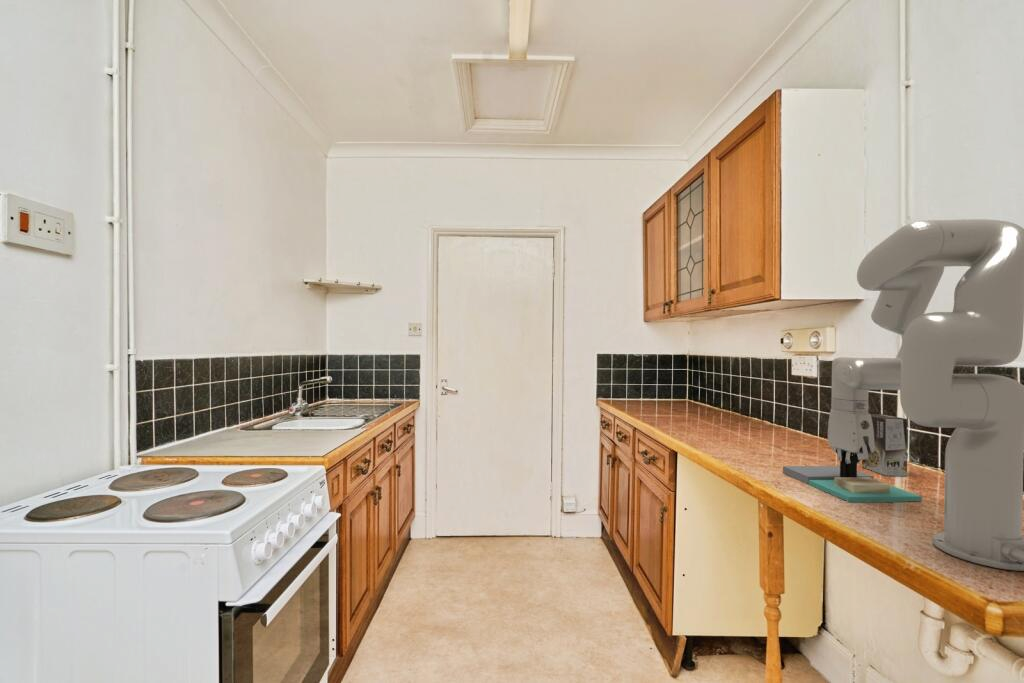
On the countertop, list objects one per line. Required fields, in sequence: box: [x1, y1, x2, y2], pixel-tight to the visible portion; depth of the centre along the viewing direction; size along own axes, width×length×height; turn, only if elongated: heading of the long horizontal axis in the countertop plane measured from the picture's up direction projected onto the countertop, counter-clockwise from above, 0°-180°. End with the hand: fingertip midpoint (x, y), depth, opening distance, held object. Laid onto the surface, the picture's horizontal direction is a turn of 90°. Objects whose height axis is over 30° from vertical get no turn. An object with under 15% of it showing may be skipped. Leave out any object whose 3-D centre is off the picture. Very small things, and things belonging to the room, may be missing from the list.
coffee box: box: [861, 413, 909, 477], centre depth 131 cm, size 9×6×16 cm
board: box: [782, 465, 874, 485], centre depth 124 cm, size 10×18×2 cm, turn 93°
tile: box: [834, 477, 891, 493], centre depth 111 cm, size 6×9×2 cm, turn 92°
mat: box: [808, 480, 923, 503], centre depth 112 cm, size 13×18×1 cm
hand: (848, 477), depth 115 cm, fingers closed
